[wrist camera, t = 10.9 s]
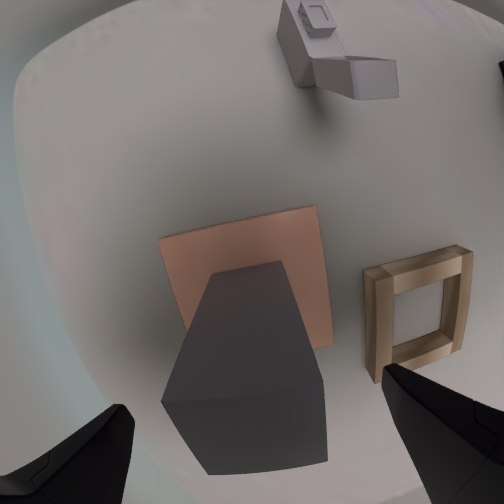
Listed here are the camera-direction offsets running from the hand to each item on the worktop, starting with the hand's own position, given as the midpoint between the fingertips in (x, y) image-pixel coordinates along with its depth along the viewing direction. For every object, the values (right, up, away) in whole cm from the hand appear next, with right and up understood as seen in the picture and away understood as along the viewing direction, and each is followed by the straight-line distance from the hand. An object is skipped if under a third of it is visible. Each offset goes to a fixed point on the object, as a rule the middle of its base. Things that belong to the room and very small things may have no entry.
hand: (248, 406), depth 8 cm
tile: (0, +2, +9) cm, 9 cm away
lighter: (+3, +15, +6) cm, 16 cm away
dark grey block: (0, +2, +8) cm, 9 cm away
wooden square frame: (+12, +1, +9) cm, 15 cm away
